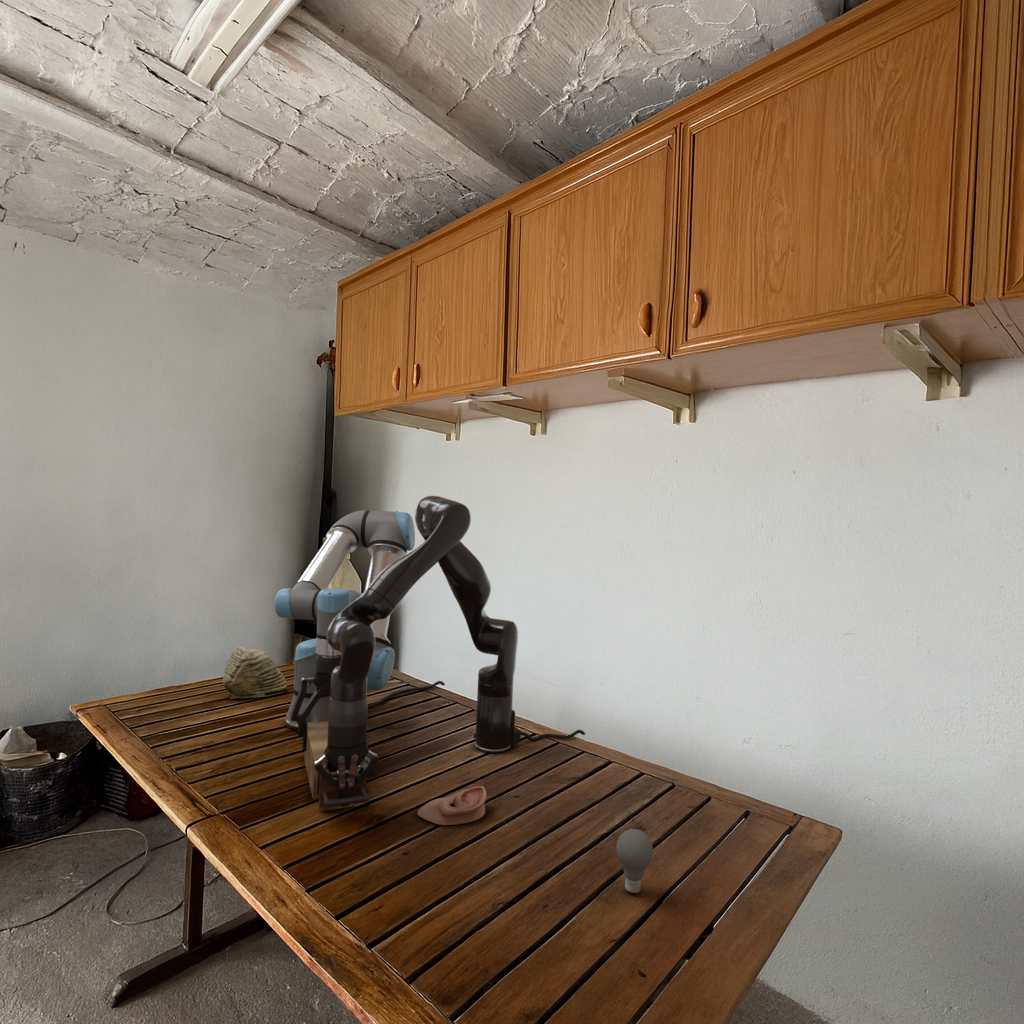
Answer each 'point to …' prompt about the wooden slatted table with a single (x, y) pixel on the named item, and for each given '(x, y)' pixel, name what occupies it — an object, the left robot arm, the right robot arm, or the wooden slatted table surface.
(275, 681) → the fossil
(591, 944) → the wooden slatted table surface
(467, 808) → the anatomical model
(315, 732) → the cabinet
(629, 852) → the light bulb
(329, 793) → the drawer
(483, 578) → the right robot arm
